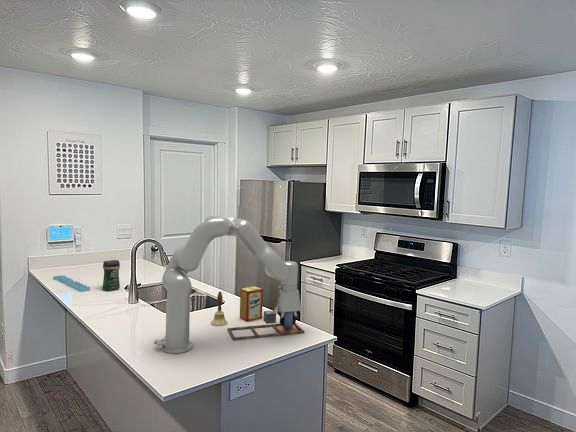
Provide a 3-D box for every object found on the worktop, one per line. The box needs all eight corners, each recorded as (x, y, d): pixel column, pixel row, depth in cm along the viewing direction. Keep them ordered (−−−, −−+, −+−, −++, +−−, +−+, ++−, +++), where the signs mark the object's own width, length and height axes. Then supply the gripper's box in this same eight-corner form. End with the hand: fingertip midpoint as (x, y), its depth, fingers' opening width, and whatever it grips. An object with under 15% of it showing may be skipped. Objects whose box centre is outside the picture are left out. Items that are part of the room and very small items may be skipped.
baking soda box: (246, 322, 203) (247, 290, 201) (239, 318, 208) (240, 287, 206) (262, 318, 209) (262, 288, 207) (254, 315, 214) (255, 285, 212)
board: (233, 340, 178) (233, 338, 178) (227, 330, 190) (227, 328, 190) (304, 333, 190) (304, 331, 190) (294, 324, 202) (294, 322, 202)
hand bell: (231, 323, 200) (231, 292, 199) (217, 327, 194) (218, 294, 192) (220, 319, 205) (221, 288, 204) (207, 323, 199) (207, 291, 198)
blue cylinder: (284, 329, 191) (285, 312, 190) (280, 325, 195) (281, 309, 195) (294, 328, 192) (294, 311, 192) (290, 324, 197) (291, 308, 196)
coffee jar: (106, 292, 247) (106, 262, 245) (100, 289, 252) (100, 260, 251) (121, 289, 254) (122, 260, 253) (115, 287, 259) (115, 258, 258)
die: (266, 323, 201) (266, 313, 201) (263, 320, 206) (263, 310, 205) (275, 323, 203) (276, 313, 202) (272, 319, 208) (273, 310, 207)
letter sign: (52, 279, 274) (52, 276, 274) (63, 278, 279) (63, 274, 279) (80, 293, 245) (80, 289, 245) (91, 291, 250) (91, 287, 249)
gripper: (274, 290, 186) (273, 328, 187) (308, 288, 192) (307, 325, 193) (269, 286, 193) (268, 323, 194) (302, 284, 199) (301, 320, 200)
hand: (287, 324), depth 194 cm, fingers closed on blue cylinder, 5 cm apart
